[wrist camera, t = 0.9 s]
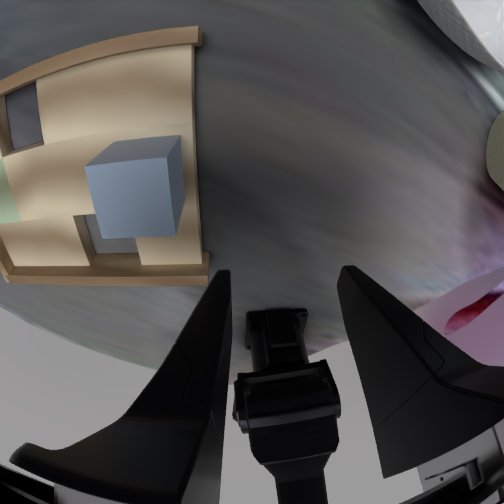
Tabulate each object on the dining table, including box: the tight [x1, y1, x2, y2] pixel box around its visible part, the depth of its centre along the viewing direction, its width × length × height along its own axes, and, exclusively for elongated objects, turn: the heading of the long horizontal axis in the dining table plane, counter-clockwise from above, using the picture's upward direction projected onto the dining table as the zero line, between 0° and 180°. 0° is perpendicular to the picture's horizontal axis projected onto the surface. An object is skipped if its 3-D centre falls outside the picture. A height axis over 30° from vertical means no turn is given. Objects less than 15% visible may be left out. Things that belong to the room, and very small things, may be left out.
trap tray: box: [0, 26, 210, 286], centre depth 16 cm, size 18×22×3 cm
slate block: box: [85, 135, 185, 239], centre depth 15 cm, size 4×4×4 cm
